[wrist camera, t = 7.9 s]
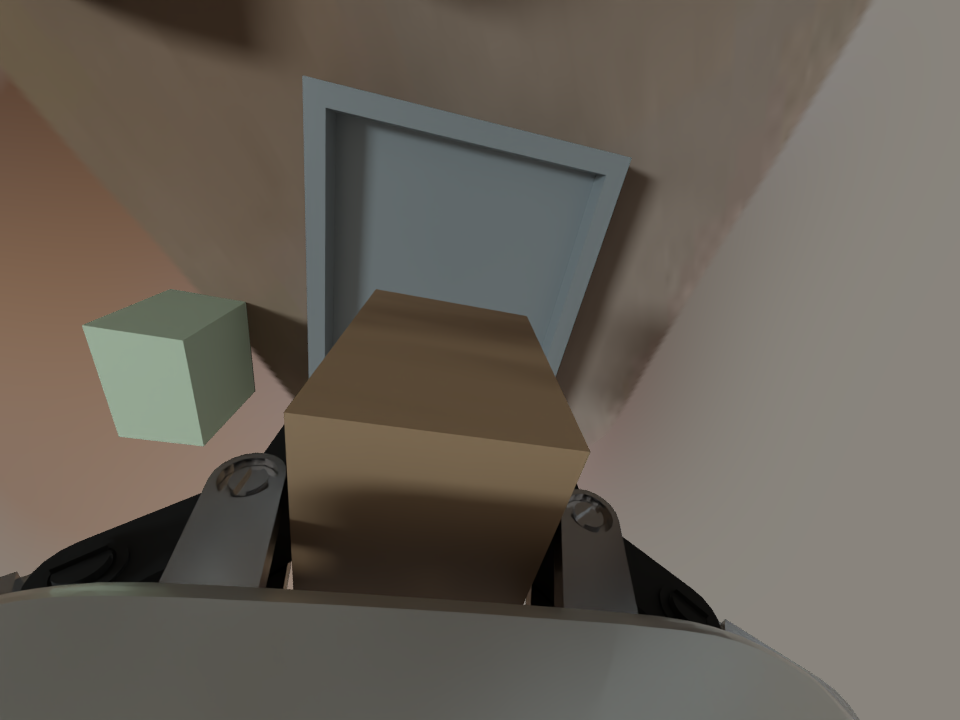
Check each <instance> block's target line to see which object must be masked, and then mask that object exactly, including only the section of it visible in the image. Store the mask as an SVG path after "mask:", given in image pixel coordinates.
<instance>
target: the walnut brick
mask: <svg viewBox="0 0 960 720" xmlns="http://www.w3.org/2000/svg"><path fill="white" fill-rule="evenodd" d="M284 425H285V443H286V462H287V480H288V498H289V517H290V535H291V553H292V571H293V590H306V591H322V592H339V593H355V594H370V595H385V596H401V597H416V598H431V599H445V600H460V601H475V602H490V603H504V604H517V605H523V604H524V601H525V599H526V597H527V595H528V592H529V590H530V588H531V586H532V583H533V581H534V579H535V577H536V574H537V572H538V570H539V568H540V565H541V563H542V561H543V558H544V556H545V554H546V552H547V549H548V547H549V545H550V543H551V540H552V538H553V536H554V534H555V531H556V529H557V527H558V524H559V522H560V520H561V518H562V515H563V513H564V511H565V509H566V506H567V504H568V502H569V500H570V497H571V495H572V493H573V490H574V488H575V486H576V484H577V481H578V479H579V477H580V475H581V472H582V470H583V468H584V465H585V463H586V461H587V458H588V456H589V454H590V450H589V448H588V446H587V444H586V442H585V439H584V437H583V435H582V433H581V431H580V429H579V427H578V424H577V422H576V420H575V418H574V416H573V414H572V412H571V409H570V407H569V405H568V403H567V401H566V399H565V397H564V394H563V392H562V390H561V388H560V386H559V384H558V382H557V379H556V377H555V375H554V373H553V371H552V369H551V367H550V364H549V362H548V360H547V358H546V356H545V354H544V352H543V349H542V347H541V345H540V343H539V341H538V339H537V337H536V335H535V332H534V330H533V328H532V326H531V324H530V322H529V320H528V317H527V316H524V315H518V314H513V313H507V312H502V311H496V310H490V309H485V308H479V307H474V306H468V305H462V304H457V303H451V302H446V301H440V300H434V299H429V298H423V297H418V296H412V295H406V294H401V293H395V292H390V291H384V290H378V289H376V290H375V291H374V292H373V294H372V295H371V296H370V298H369V299H368V300H367V302H366V303H365V304H364V306H363V307H362V308H361V310H360V311H359V312H358V314H357V315H356V316H355V318H354V319H353V320H352V322H351V323H350V324H349V326H348V327H347V328H346V330H345V331H344V333H343V334H342V335H341V337H340V338H339V339H338V341H337V342H336V343H335V345H334V346H333V347H332V349H331V350H330V351H329V353H328V354H327V355H326V357H325V358H324V359H323V361H322V362H321V363H320V365H319V366H318V367H317V369H316V370H315V371H314V373H313V374H312V375H311V377H310V378H309V379H308V381H307V382H306V383H305V385H304V386H303V387H302V389H301V390H300V391H299V393H298V394H297V395H296V397H295V398H294V399H293V401H292V402H291V403H290V405H289V406H288V407H287V409H286V410H285V412H284Z"/></svg>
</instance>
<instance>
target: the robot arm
mask: <svg viewBox="0 0 960 720" xmlns="http://www.w3.org/2000/svg"><path fill="white" fill-rule="evenodd" d="M291 561H292V553H291V535H290V517H289V498H288V480H287V462H286V443H285V425H283V427H282V428H281V430H280V431H279V433H278V434H277V435H276V437H275V438H274V440H273V441H272V443H271V444H270V445H269V447H268V448H267V450H266V451H265V452H264V453H252V454H244V455H241V456H238V457H235V458H232V459H231V460H228V461H227V462H224V463H223V464H221V465H220V466H219V467H218V468H216V469H215V470H214V471H213V473H212V474H211V475H210V477H209V478H208V480H207V482H206V484H205V486H204V488H203V491H202V493H200V494H198V495H195V496H193V497H190V498H188V499H185V500H183V501H180V502H178V503H175V504H173V505H170V506H168V507H165V508H163V509H160V510H158V511H155V512H153V513H150V514H147V515H145V516H142V517H140V518H137V519H135V520H132V521H130V522H128V523H125V524H122V525H120V526H117V527H115V528H112V529H110V530H107V531H105V532H102V533H100V534H97V535H95V536H92V537H90V538H87V539H85V540H82V541H80V542H77V543H75V544H74V545H71V546H69V547H67V548H65V549H63V550H61V551H59V552H58V553H56V554H55V555H53V556H52V557H50V558H49V559H47V560H46V561H44V562H43V563H42V564H41V565H40V566H39V567H38V568H37V569H36V570H35V571H34V572H33V573H32V574H30V575H27V576H24V577H20V576H19V574H18V572H14V573H11V574H9V575H5V576H2V577H0V720H859V718H858V717H857V716H856V714H855V713H854V711H853V710H852V709H851V707H850V706H849V705H848V703H847V702H846V701H845V700H844V699H843V698H842V697H841V696H840V695H839V694H838V693H837V692H836V691H835V690H834V689H833V688H832V687H830V686H829V685H828V684H826V683H825V682H824V681H823V680H821V679H820V678H818V677H817V676H815V675H813V674H812V673H810V672H809V671H807V670H806V669H804V668H802V667H801V666H799V665H798V664H796V663H795V662H793V661H791V660H790V659H788V658H787V657H785V656H783V655H782V654H780V653H778V652H777V651H775V650H774V649H772V648H771V647H769V646H767V645H766V644H764V643H762V642H761V641H759V640H758V639H756V638H755V637H753V636H752V635H750V634H748V633H747V632H745V631H744V630H742V629H740V628H739V627H737V626H736V625H734V624H732V623H731V622H729V621H728V620H726V619H725V620H724V621H723V622H722V623H721V622H719V621H718V619H717V617H716V616H715V614H714V612H713V610H712V609H711V607H709V605H708V604H707V603H706V601H705V600H704V599H703V598H702V597H701V596H700V595H699V594H698V593H696V592H695V591H694V590H693V589H692V588H690V587H689V586H687V585H686V584H685V583H684V582H682V581H681V580H680V579H678V578H677V577H676V576H674V575H673V574H671V573H670V572H669V571H668V570H666V569H665V568H664V567H662V566H661V565H660V564H658V563H657V562H655V561H654V560H653V559H652V558H650V557H649V556H647V555H646V554H645V553H644V552H642V551H641V550H640V549H638V548H637V547H635V546H634V545H632V544H631V543H630V542H629V541H627V540H626V539H625V538H623V537H622V533H621V528H620V524H619V520H618V517H617V514H616V512H615V511H614V509H613V508H612V507H611V505H610V504H609V503H607V502H606V501H605V500H604V499H603V498H601V497H600V496H598V495H596V494H595V493H592V492H590V491H587V490H581V489H579V488H578V486H577V484H576V486H575V488H574V490H573V493H572V495H571V497H570V500H569V502H568V504H567V506H566V509H565V511H564V513H563V515H562V518H561V520H560V522H559V524H558V527H557V529H556V531H555V534H554V536H553V538H552V540H551V543H550V545H549V547H548V549H547V552H546V554H545V556H544V558H543V561H542V563H541V565H540V568H539V570H538V572H537V574H536V577H535V579H534V581H533V583H532V586H531V588H530V590H529V592H528V595H527V597H526V604H525V605H517V604H504V603H490V602H475V601H460V600H445V599H431V598H416V597H401V596H385V595H370V594H355V593H339V592H322V591H306V590H290V589H287V585H288V579H289V574H290V569H291Z"/></svg>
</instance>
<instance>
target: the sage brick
mask: <svg viewBox="0 0 960 720" xmlns="http://www.w3.org/2000/svg"><path fill="white" fill-rule="evenodd" d="M82 327H83V330H84V333H85V336H86V339H87V342H88V345H89V348H90V351H91V354H92V357H93V360H94V363H95V366H96V369H97V372H98V375H99V378H100V380H101V384H102V387H103V390H104V393H105V396H106V399H107V402H108V405H109V408H110V411H111V414H112V417H113V420H114V423H115V426H116V429H117V432H118V435H119V437H127V438H136V439H145V440H154V441H162V442H171V443H180V444H188V445H197V446H204V445H205V444H206V443H207V442H208V441H209V440H210V439H211V438H212V437H213V436H214V435H215V433H216V432H217V431H218V430H219V429H220V428H221V427H222V426H223V425H224V424H225V423H226V422H227V421H228V420H229V418H231V416H232V415H233V414H234V413H235V412H236V411H237V410H238V409H239V408H240V407H241V406H242V404H244V403H245V401H246V400H247V399H248V398H249V397H250V396H251V395H252V394H253V393H254V392H255V382H254V373H253V363H252V352H251V348H250V338H249V328H248V319H247V309H246V302H243V301H237V300H231V299H225V298H219V297H213V296H207V295H201V294H198V293H192V292H186V291H179V290H173V289H170V290H167V291H165V292H162V293H160V294H157V295H155V296H152V297H150V298H148V299H145V300H143V301H140V302H138V303H135V304H133V305H130V306H128V307H126V308H123V309H121V310H118V311H116V312H113V313H111V314H109V315H106V316H104V317H101V318H99V319H96V320H94V321H91V322H89V323H87V324H84V325H82Z"/></svg>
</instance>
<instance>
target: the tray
mask: <svg viewBox="0 0 960 720" xmlns="http://www.w3.org/2000/svg"><path fill="white" fill-rule="evenodd" d="M302 76H303V75H302ZM303 124H304V173H305V221H306V270H307V318H308V367H309V378H310V377H311V375H312V374H313V373H314V371H315V370H316V369H317V367H318V366H319V365H320V363H321V362H322V361H323V359H324V358H325V357H326V355H327V354H328V353H329V351H330V350H331V349H332V347H333V346H334V345H335V343H336V342H337V341H338V339H339V338H340V337H341V335H342V334H343V333H344V331H345V330H346V328H347V327H348V326H349V324H350V323H351V322H352V320H353V319H354V318H355V316H356V315H357V314H358V312H359V311H360V310H361V308H362V307H363V306H364V304H365V303H366V302H367V300H368V299H369V298H370V296H371V295H372V294H373V292H374V291H375V290H376V289H378V290H384V291H390V292H395V293H401V294H406V295H412V296H418V297H423V298H429V299H434V300H440V301H446V302H451V303H457V304H462V305H468V306H474V307H479V308H485V309H490V310H496V311H502V312H507V313H513V314H518V315H524V316H527V317H528V320H529V322H530V324H531V326H532V328H533V330H534V332H535V335H536V337H537V339H538V341H539V343H540V345H541V347H542V349H543V352H544V354H545V356H546V358H547V360H548V362H549V364H550V367H551V369H552V371H553V373H554V375H555V377H556V374H557V371H558V369H559V366H560V363H561V360H562V357H563V354H564V351H565V348H566V346H567V343H568V340H569V337H570V334H571V331H572V328H573V325H574V323H575V320H576V317H577V314H578V311H579V308H580V305H581V302H582V300H583V297H584V294H585V291H586V288H587V285H588V282H589V279H590V277H591V274H592V271H593V268H594V265H595V262H596V259H597V256H598V254H599V251H600V248H601V245H602V242H603V239H604V236H605V233H606V231H607V228H608V225H609V222H610V219H611V216H612V213H613V210H614V208H615V205H616V202H617V199H618V196H619V193H620V190H621V187H622V185H623V182H624V179H625V176H626V173H627V170H628V167H629V164H630V162H631V159H632V158H631V157H627V156H623V155H619V154H615V153H611V152H607V151H603V150H599V149H595V148H591V147H587V146H583V145H579V144H575V143H571V142H567V141H563V140H559V139H555V138H551V137H547V136H543V135H539V134H535V133H531V132H527V131H523V130H519V129H515V128H511V127H507V126H503V125H499V124H495V123H491V122H487V121H483V120H479V119H475V118H471V117H467V116H463V115H459V114H455V113H451V112H447V111H443V110H439V109H435V108H431V107H427V106H423V105H419V104H415V103H411V102H407V101H403V100H399V99H395V98H391V97H387V96H383V95H379V94H375V93H371V92H367V91H363V90H359V89H355V88H351V87H347V86H343V85H339V84H335V83H331V82H327V81H323V80H319V79H315V78H311V77H307V76H303Z"/></svg>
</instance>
